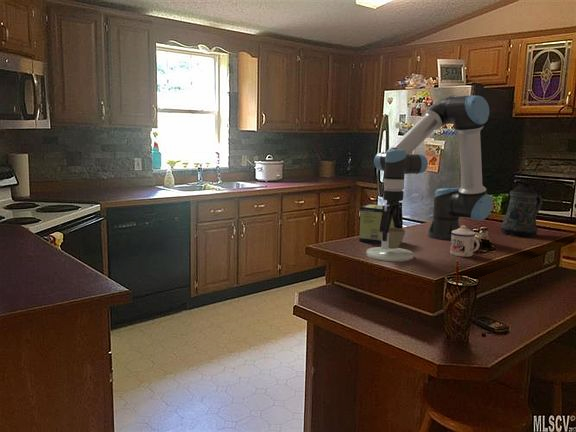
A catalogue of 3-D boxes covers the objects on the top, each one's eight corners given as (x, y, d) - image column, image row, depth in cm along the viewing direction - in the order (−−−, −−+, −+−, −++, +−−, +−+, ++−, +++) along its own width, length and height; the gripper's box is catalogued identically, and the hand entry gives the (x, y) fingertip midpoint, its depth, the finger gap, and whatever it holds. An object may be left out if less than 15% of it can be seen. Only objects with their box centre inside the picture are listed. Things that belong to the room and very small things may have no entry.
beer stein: (495, 234, 247) (500, 183, 243) (508, 229, 262) (513, 181, 258) (531, 239, 237) (537, 186, 232) (542, 233, 251) (548, 183, 247)
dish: (378, 248, 209) (378, 244, 209) (420, 255, 199) (420, 251, 199) (358, 256, 194) (358, 252, 194) (402, 264, 184) (403, 260, 184)
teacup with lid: (444, 253, 203) (447, 225, 201) (458, 250, 208) (460, 223, 207) (470, 259, 194) (473, 230, 192) (484, 256, 199) (487, 228, 197)
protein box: (365, 237, 232) (367, 203, 229) (398, 241, 225) (401, 206, 222) (358, 241, 222) (360, 206, 220) (393, 245, 216) (395, 209, 213)
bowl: (404, 251, 190) (405, 232, 189) (377, 249, 192) (378, 231, 191) (403, 245, 200) (404, 227, 199) (378, 243, 202) (379, 226, 201)
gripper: (395, 186, 204) (392, 240, 207) (372, 191, 185) (369, 250, 189) (413, 188, 200) (410, 243, 203) (391, 193, 181) (387, 253, 185)
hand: (390, 246), depth 196 cm, fingers closed on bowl, 10 cm apart
